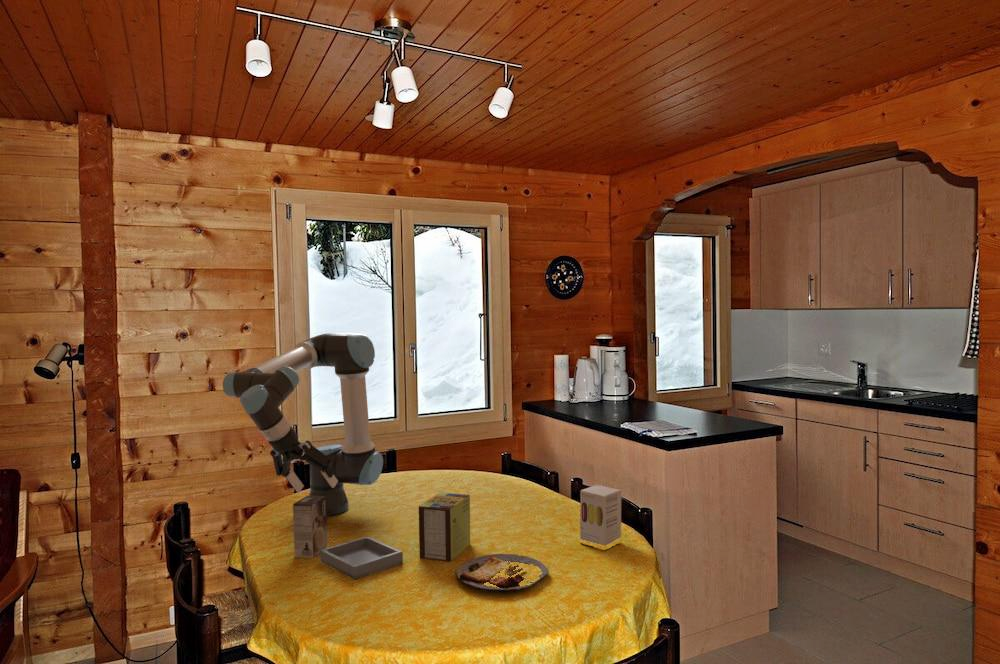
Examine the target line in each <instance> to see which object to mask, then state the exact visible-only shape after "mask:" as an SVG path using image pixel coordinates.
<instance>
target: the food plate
mask: <svg viewBox="0 0 1000 664" xmlns="http://www.w3.org/2000/svg"><path fill="white" fill-rule="evenodd" d="M507 561H508V562H507ZM509 561H510V562H519V563H524V564H528V565H530V564H533V565H534V566H538V567H539V568H540V569H541V571H542V572H543V573H542V574H541V575H539V577H540V579H539V580H537V581H536V582H530V583H532V584H530V585H525V586H521V587H520V585H519V583H520V582H521V581H523V580H524V579H525V580H526V578H524V577H525V576H524V577H522V576H521V575H522V574H521V575H519V574H518V575H516V576H515V577H511V576H512V575H514V574H516V573H517V572H520V571H521V570H523V569H522V568H521V569H518V570H515V569H516V567H519V566H518V565H517V566H514V567H513V566H510V567H509V569H508V570H507V571H506V573H507V575H509V576H510V577H511V578H510V577H508V578H505V577H499V576H498V578H495V579H491V578H493V577H494V576H495V575H496V574H497V573H500V571H501V570H503V569H504V568H502V567H506V565H509V564H510V562H509ZM513 570H515V571H513ZM454 573H455V575H456V578H457V580H458V581H460V582H461V583H462V584H465V585H468V586H470V587H474V588H477V589H478V590H485V591H503V592H508V591H510V592H511V591H513V592H515V591H520V590H521V589H522V588H523V590H524V589H528V588H530V587H531V586H534V585H533V584H536V583H538V582H539V581H540V580H541V579H543V578H544V577H545V576H547V575H549V569H548V567H547V566H545V564H544V563H542V562H541V561H539V560H538V559H535V558H533V557H530V556H526V555H522V554H521V555H519V554H515V553H489V554H484V555H479V556H476V557H472V558H470V559H468V560H466V561H465V562H463V563H462V564H460V565H459V566H458V567H457V568H456V569H455V572H454ZM506 573H505V575H506ZM525 580H524V581H525ZM486 582H489V583H490V584H493V585H496V586H497V587H499V588H497V587H496V588H495V587H492V586H486V585H484V583H486Z"/></svg>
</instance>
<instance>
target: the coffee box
mask: <svg viewBox="0 0 1000 664" xmlns="http://www.w3.org/2000/svg"><path fill="white" fill-rule="evenodd" d="M292 510H293V511H292V512H293V514H292V515H293V545H294V546H293V547H294V548H293V549H294V558H307V559H314V558H315V557H317V556H319V555H320V550H323V549H326V548H328V526H327V525H328V523H327V521H328V516H327V513H326V496H309V495H306V496H304V497H303V498H301V499H299V500H298V501H296V502H294V503H292Z"/></svg>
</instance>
